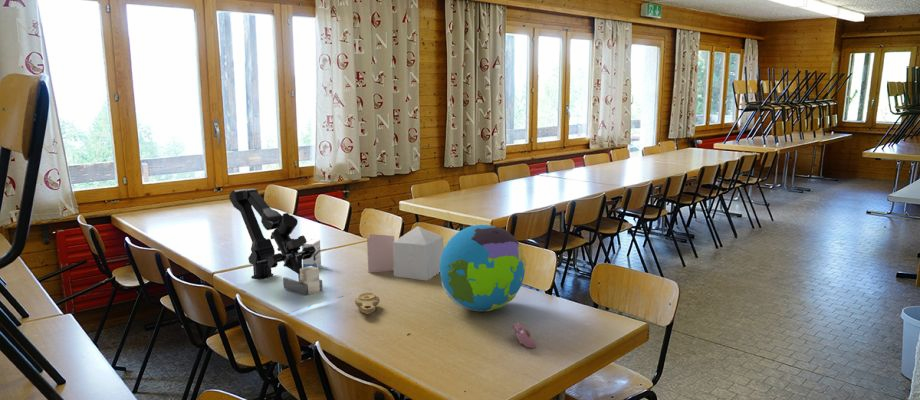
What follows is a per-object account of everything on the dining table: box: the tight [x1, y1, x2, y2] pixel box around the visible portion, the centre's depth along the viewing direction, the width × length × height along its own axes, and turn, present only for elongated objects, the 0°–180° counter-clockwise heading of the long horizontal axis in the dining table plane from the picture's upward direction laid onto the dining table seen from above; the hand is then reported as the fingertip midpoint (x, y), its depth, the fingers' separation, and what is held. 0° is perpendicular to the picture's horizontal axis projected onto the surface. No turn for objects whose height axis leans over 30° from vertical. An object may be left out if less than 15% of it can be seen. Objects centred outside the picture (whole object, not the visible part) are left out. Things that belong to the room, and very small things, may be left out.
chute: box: [282, 274, 323, 296], centre depth 235 cm, size 14×8×5 cm, turn 49°
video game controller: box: [512, 322, 537, 349], centre depth 187 cm, size 10×5×7 cm, turn 6°
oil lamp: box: [354, 292, 381, 315], centre depth 214 cm, size 11×14×5 cm
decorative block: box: [393, 226, 444, 281], centre depth 256 cm, size 16×16×20 cm
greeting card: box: [366, 233, 395, 273], centre depth 260 cm, size 11×7×15 cm, turn 71°
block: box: [300, 266, 321, 296], centre depth 231 cm, size 5×5×9 cm
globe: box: [439, 224, 527, 312], centre depth 212 cm, size 30×30×30 cm
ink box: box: [301, 238, 322, 268], centre depth 265 cm, size 8×5×12 cm, turn 168°
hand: (301, 274), depth 234 cm, fingers closed
